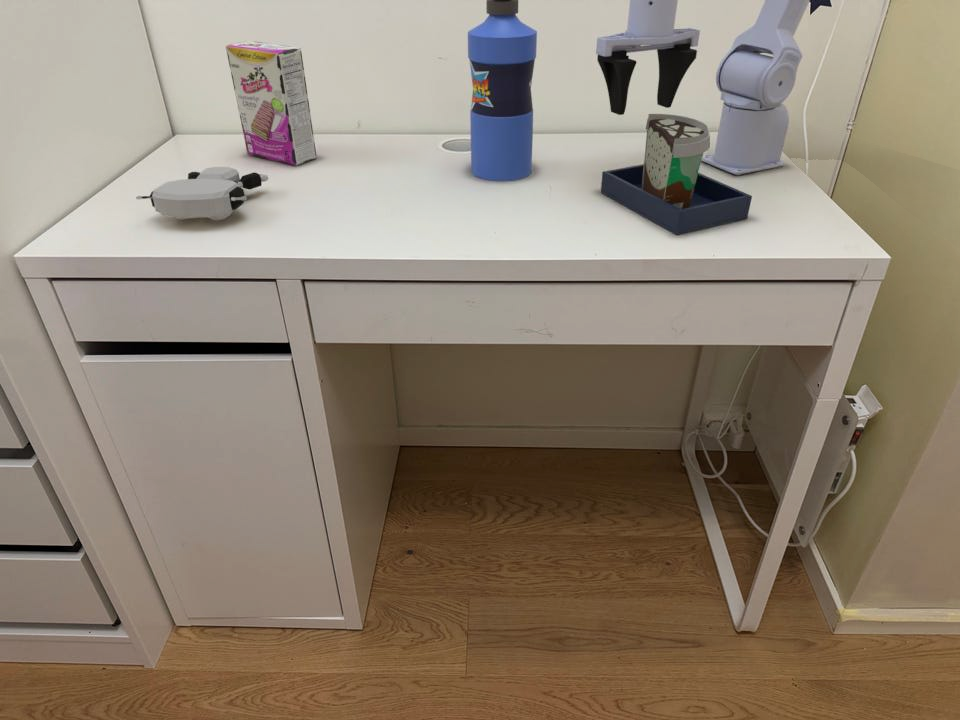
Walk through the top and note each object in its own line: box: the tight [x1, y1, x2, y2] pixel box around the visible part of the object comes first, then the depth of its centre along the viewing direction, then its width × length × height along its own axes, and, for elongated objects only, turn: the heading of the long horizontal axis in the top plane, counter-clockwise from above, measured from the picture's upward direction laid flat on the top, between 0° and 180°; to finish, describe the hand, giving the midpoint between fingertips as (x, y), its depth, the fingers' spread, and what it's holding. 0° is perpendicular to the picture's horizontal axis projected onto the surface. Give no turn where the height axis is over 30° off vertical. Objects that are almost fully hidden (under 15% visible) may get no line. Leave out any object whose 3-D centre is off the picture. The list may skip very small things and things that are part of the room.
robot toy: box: [135, 166, 269, 221], centre depth 90 cm, size 12×4×15 cm
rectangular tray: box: [600, 163, 753, 236], centre depth 90 cm, size 11×16×3 cm
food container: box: [642, 113, 711, 209], centre depth 87 cm, size 12×6×10 cm, turn 4°
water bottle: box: [467, 0, 538, 182], centre depth 96 cm, size 9×9×25 cm
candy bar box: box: [224, 40, 318, 167], centre depth 105 cm, size 11×5×16 cm, turn 58°
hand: (641, 109), depth 91 cm, fingers open, 7 cm apart
